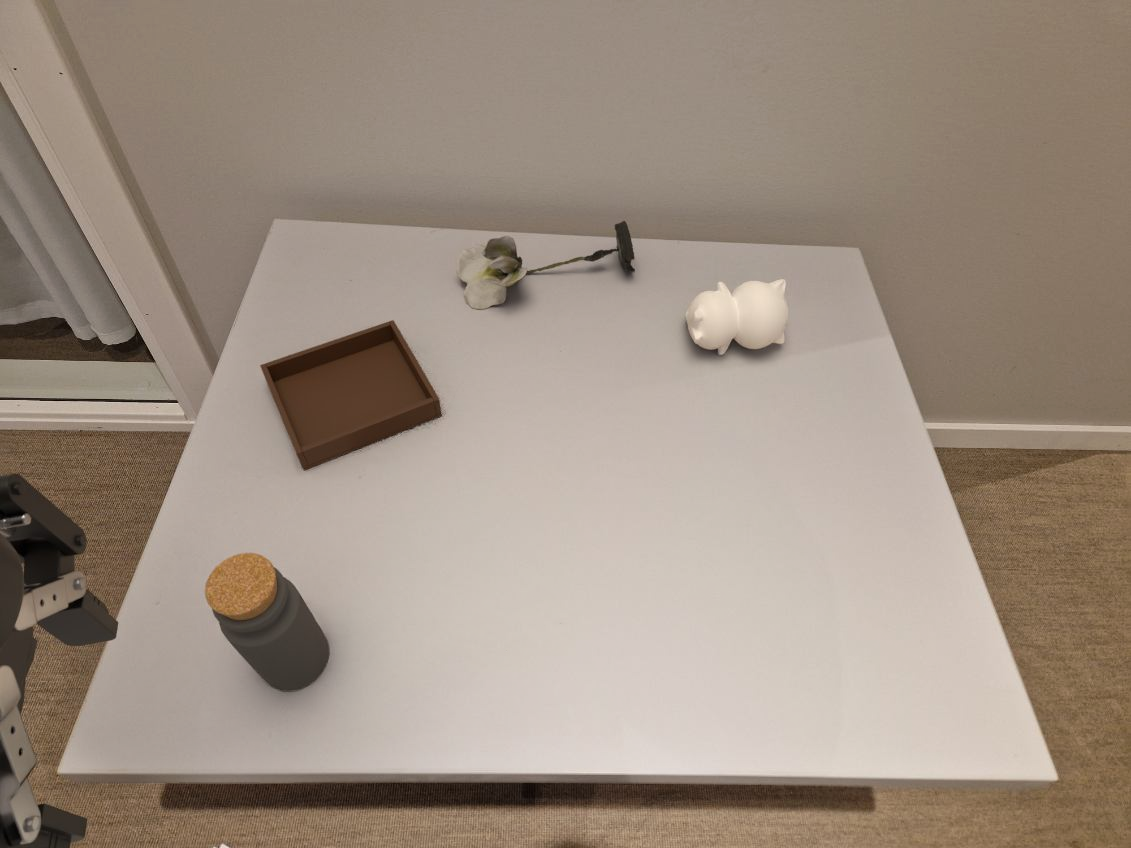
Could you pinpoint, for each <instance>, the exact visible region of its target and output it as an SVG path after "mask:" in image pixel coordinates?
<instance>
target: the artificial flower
mask: <svg viewBox="0 0 1131 848" xmlns="http://www.w3.org/2000/svg"><path fill="white" fill-rule="evenodd" d="M614 230H615V233H616V234H615V240H616V248H610V249H598V250H596V251H594V252H593V253H592V254H590V255H586V256H578V257H574V258H571V259H569V260H565V261H560V262H555V263H551V264H549V265H546V266H543V267H537V268H535V269H530V270H528V268H527V267H522V266H523V259H522V256H518V252H517V244H516V241H515V239H514V237H511V236H510V235H504V236H500V237H497V238H489V240H488V241H486V244H485V245H483V244H475V245H474V246H473V247H472V248H471V247H470V248H465V249H464V250H462V251H461V253H460V254H459V256H458V258H457V259H456V263H455V264H456V265H455V268H456V269H455V270H456V271H455V272H456V275H457V277H458V278H459V279H460V280H462V282H464V283H466V286H465V289H464V291H463V295H464V303H466V305H468V306H470V308H472V309H474V310H485V309H488V308H490V307H491V306H496V305H501V304H503V303H505V301H506V298H507V287H510V286H514V285H515V284H516V283H517V282H519V281H520V280H522V278H524V277H525V276H526V275H528V274H534V273H536V272H543V271H546V270H550V269H554V268H556V267H560V266H563V265H569V264H571V263H577V262H580V261H585V262H595V261H599V260H601V259H603V258H604V257H606V256H608V255H611V254H613V253H614V252H617V256H618V259H619V261H620V264H621V266H622V267H623V268H624V271H628V272H631V273H636V269H635V268H634V267H633V265H632V261H634V260H635V259H636V258H635V252H634V248H633V247H634V246H633V241H632V237H631V233H630V230H629V227H628V224H627V222H626V221H625V220H623V221H620V222H618V223H615V224H614Z"/></svg>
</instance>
